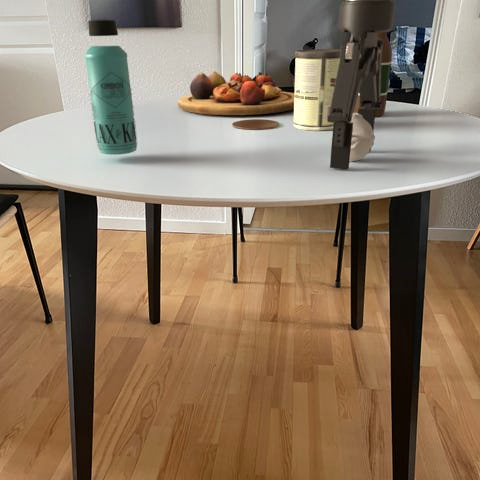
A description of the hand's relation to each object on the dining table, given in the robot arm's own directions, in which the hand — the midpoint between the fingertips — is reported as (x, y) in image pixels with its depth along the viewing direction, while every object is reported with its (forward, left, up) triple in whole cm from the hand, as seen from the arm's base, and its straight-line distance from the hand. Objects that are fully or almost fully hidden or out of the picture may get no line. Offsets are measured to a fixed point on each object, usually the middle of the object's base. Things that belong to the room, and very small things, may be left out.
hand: (351, 158), depth 80 cm
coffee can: (+15, -25, 0) cm, 29 cm away
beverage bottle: (+35, +15, 0) cm, 38 cm away
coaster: (+27, -21, 0) cm, 34 cm away
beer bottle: (+9, -43, 0) cm, 44 cm away
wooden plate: (+42, -42, 0) cm, 59 cm away
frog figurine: (0, 0, 0) cm, 0 cm away
